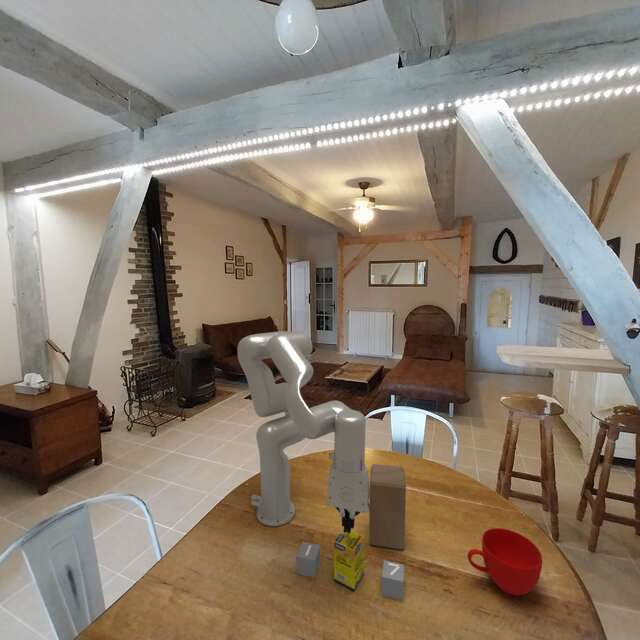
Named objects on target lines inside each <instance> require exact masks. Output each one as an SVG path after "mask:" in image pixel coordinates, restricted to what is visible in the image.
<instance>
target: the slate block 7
mask: <svg viewBox="0 0 640 640" xmlns="http://www.w3.org/2000/svg"><path fill="white" fill-rule="evenodd" d="M404 579H405V564H402V563H399V562H393V561H390V560H385V559H384V560H383V566H382V573H381V596H384V597H387V598H391V599H395V600H398V601H404V586H405V585H404V584H405V583H404V581H405V580H404Z"/></svg>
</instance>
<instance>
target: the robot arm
mask: <svg viewBox="0 0 640 640" xmlns="http://www.w3.org/2000/svg"><path fill="white" fill-rule="evenodd" d="M312 352H313V342H312V340H311V337H310V336H309V335H308V334H307V333H305V332H303V331H293V330H292V331H291V330H290V331H285V330H283V331H271V332H263V333H262V332H261V333H255V334H249V335H246V336H245V337H243V338H241V339H240V340H239V342H238V345H237V359H238V361H239V364H240V366H241V369H242V371H243V372H244V375H245V377H246V380H247V385H248V389H249V392H250V397H251V401H252V405H253V407H254V408H253V409H254V412H255V414H256V415H257V416H258V417H259V418H268V417H272V416H275V415H278V414H281V413H284V416H281V417H278V418H274V419H271V420H269V421H265V422H264V423H262V424H261V425H260V426H259V427H258V428H257V430H256V436H255V437H256V442H257V444H256V445H257V449H258V454H259V465H260V467H259V471H260V495H258V494H252V495H251V498H250V499H251V504H250V505H251V506H252V507H253V506H254V507H257V509H256V518H257V520H258V521H259V522H260V523H261V524H263V525H265V526H267V527H280V526H283V525H286V524H287V523H290V522H291V521H292V519H293V518H294V517H295V513H296V505H295V504H294V502H292V501H291V465H290V464H291V463H290V458H289V457H288V455H287V454H286V453H285V451H284V450H285V449H286V448H288V447H290V446H293V445H296V444H298V443H300V442H302V441H303V440H305V438H306V439H308V440H317V439H319V438H322V437H324V436H326V435H329V434H331V433H334V446H333V447H334V448H333V449H334V452H329V454H328V459H329V460H331V461H332V463H331V465H330V468H329V472H328V482H327V491H326V493H327V495H326V501H327V505H329V506H331V507H333V508H335V510H337V512H339V515H340V517H341V527H343V529H344V532H345V533H346V532H348V533H349V534H350V532H351V530H352V529H355V517H357V516H358V515H360V514H365V513H366V514H367V513H368V514H369V511H370V476H369V472H368V471H369V470H368V466H367V465H366V463H365V460H366V458H365V457H366V456H365V455H366V454H365V453H366V425H367V424H366V422H367V421H366V416H365V415H364V414H363V413H362V412H361V411H358V410H355V409H352V408H350V407H349V406H347V405H346V404H344V402H342V401H339V400H330V401H328V402H324V403H321V404H318V405H314V406H312V407H309V406H308V404H307V403H306V401H305V400H304V399H303V396H302V394H301V388H302V387H304V386H305V385H306V384H307V383H308V382H310V380H311V379H312V377H313V375H314V368H313V366H312V364H311V363H310V361H309V360H308V359H307V357H308V356H310V355H311V354H312ZM266 359H271V360H272V362H273V363H274V365H275V366H276V368H277V370H278V372H280V374H281V375H282V377H283V379H284V380H285V382H281V383H277V384H276V381H275V378H274V374H273V371H272V370H271V369H270V367H269V365H267V364H266V363H265V362H264V361H262V360H266Z"/></svg>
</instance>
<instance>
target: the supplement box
mask: <svg viewBox="0 0 640 640" xmlns="http://www.w3.org/2000/svg"><path fill="white" fill-rule="evenodd" d="M333 542H334V543H333V551H334V552H333V556H334V557H333V581H334V582H335V583H338V584H339V585H341V586H343V587H345V588H346V589H349V590H351V591H352V592H355V591H356V589H357V587H358V585H359V583H360V581H361V580H362V578H363V577H364V575H365V535H363V534H361V533H358V532H356V531H353V529H351V532H350V534H349V533H348V532H346V533H345V532H344V528H343V529H342V531H341V533H339V534H338V536H337V537H336V539H334V541H333Z"/></svg>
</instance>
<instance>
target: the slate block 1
mask: <svg viewBox="0 0 640 640" xmlns="http://www.w3.org/2000/svg"><path fill="white" fill-rule="evenodd" d="M295 557H296V559H295V560H296V574H298V575H303V576H306V577H309V578H314V579H315V578H316V576H317V573H318V570H319V567H320V564H321V545H319V544H314V543H309V542H305V541H302V543H301V545H300V547H299V549H298V551H297V554H296V556H295Z"/></svg>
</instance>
